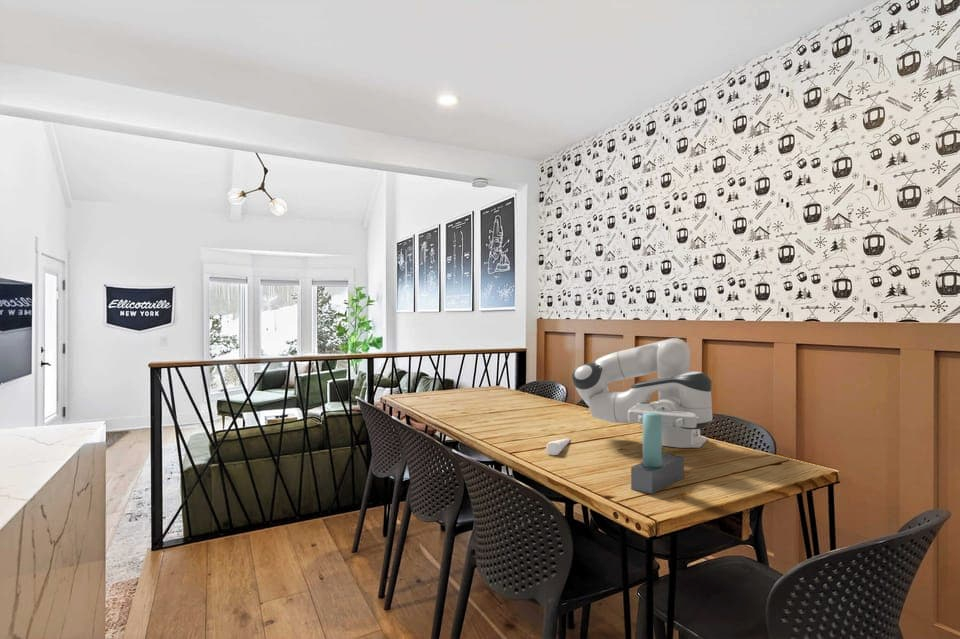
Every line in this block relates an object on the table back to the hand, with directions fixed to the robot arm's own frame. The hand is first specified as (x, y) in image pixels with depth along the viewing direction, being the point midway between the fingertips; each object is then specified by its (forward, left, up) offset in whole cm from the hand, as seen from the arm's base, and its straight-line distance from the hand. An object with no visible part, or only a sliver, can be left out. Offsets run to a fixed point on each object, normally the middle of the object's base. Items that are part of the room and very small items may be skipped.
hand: (658, 422), depth 146 cm
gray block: (+7, +4, -15) cm, 18 cm away
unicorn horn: (-4, -39, -16) cm, 42 cm away
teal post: (+12, +4, -9) cm, 15 cm away
